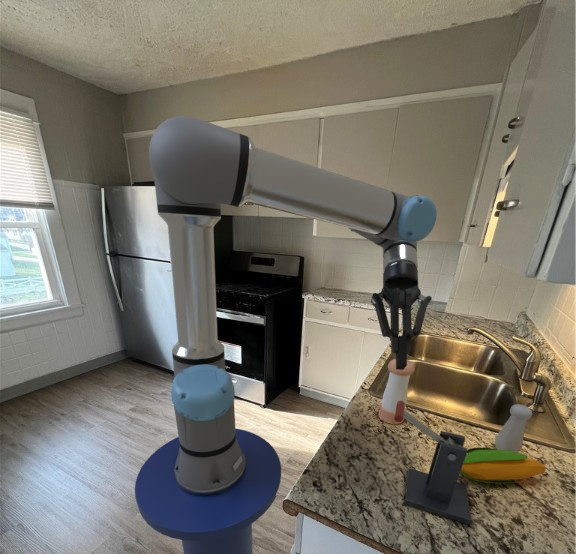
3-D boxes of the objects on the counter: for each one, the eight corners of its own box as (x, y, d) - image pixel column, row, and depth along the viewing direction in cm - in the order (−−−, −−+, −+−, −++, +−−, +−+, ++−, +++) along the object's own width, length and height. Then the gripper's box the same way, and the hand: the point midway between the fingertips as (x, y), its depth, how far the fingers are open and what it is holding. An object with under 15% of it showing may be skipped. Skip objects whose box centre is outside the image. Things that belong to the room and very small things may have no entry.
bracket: (404, 504, 65) (419, 447, 58) (407, 472, 73) (420, 419, 67) (469, 525, 61) (493, 466, 54) (464, 488, 69) (484, 434, 63)
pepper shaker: (406, 415, 95) (419, 357, 86) (400, 427, 89) (414, 366, 81) (382, 407, 98) (392, 351, 90) (375, 418, 92) (385, 359, 84)
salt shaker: (518, 460, 78) (538, 417, 72) (492, 452, 80) (509, 409, 75) (517, 447, 82) (536, 405, 77) (492, 439, 85) (508, 398, 79)
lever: (391, 420, 60) (399, 412, 59) (394, 405, 66) (401, 397, 64) (453, 465, 59) (463, 458, 58) (451, 446, 64) (460, 439, 63)
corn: (454, 439, 72) (540, 441, 72) (445, 463, 76) (527, 464, 76) (470, 463, 66) (564, 465, 66) (459, 488, 69) (549, 490, 70)
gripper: (423, 282, 75) (427, 375, 67) (368, 279, 76) (366, 370, 68) (435, 262, 68) (441, 363, 60) (374, 259, 69) (372, 358, 61)
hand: (401, 367), depth 64 cm, fingers closed
